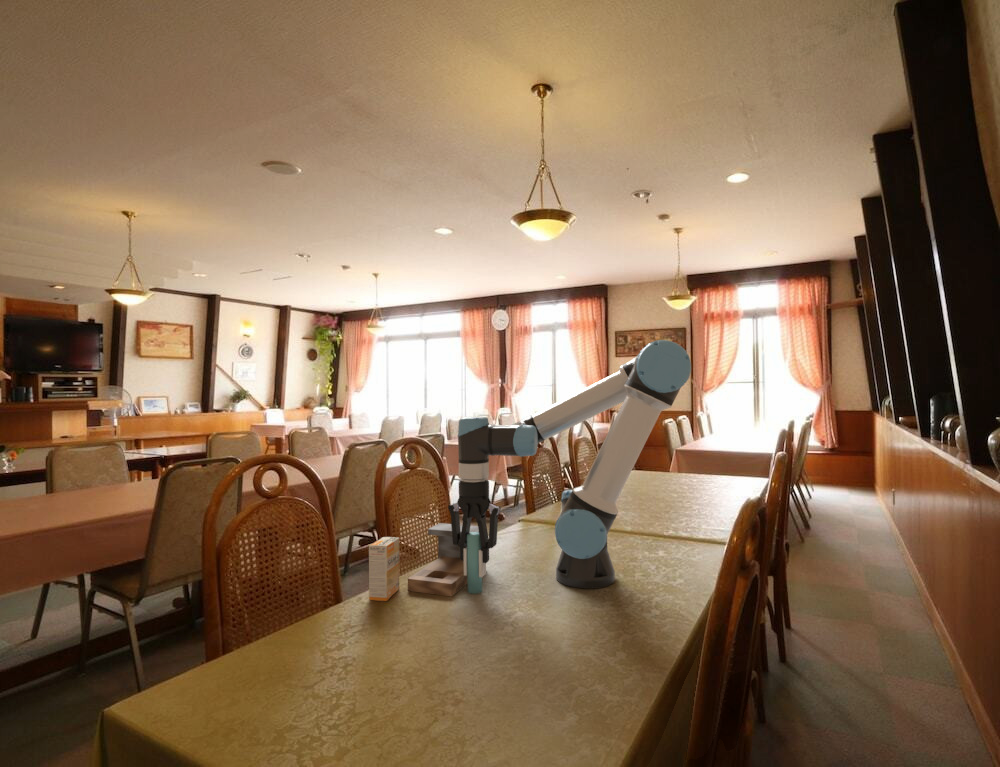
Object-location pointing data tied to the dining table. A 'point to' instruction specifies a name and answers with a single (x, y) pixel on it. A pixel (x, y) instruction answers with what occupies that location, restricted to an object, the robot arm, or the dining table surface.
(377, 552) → the supplement box
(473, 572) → the peg
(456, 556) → the socket station
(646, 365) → the robot arm
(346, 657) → the dining table surface
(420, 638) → the dining table surface
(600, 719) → the dining table surface
